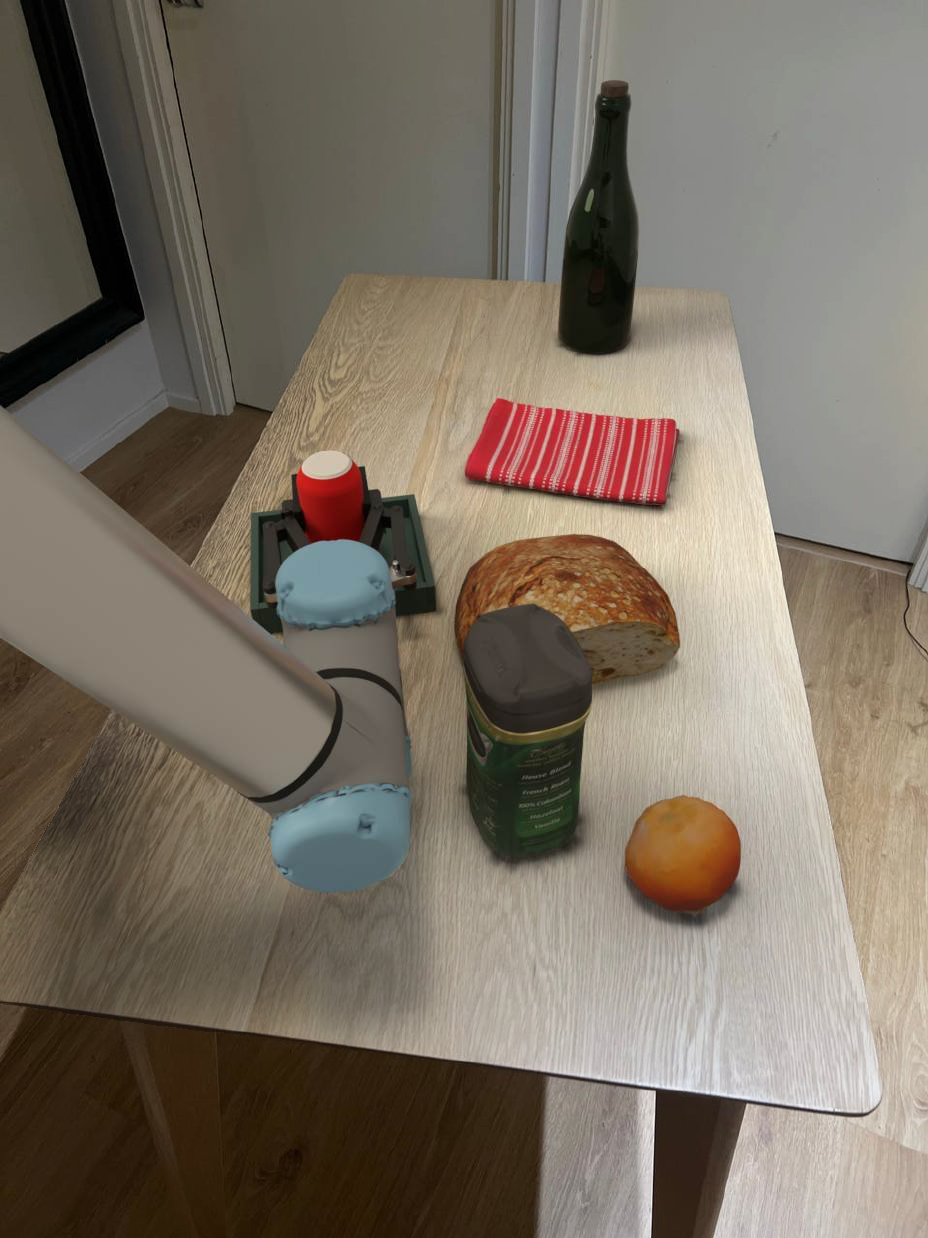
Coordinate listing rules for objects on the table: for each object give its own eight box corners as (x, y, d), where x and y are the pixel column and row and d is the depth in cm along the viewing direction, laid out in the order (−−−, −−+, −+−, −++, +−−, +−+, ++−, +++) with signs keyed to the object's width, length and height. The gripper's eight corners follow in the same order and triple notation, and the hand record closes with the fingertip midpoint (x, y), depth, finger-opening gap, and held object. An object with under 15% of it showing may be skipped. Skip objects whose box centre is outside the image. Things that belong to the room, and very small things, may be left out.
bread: (470, 717, 77) (468, 635, 71) (441, 583, 91) (437, 503, 84) (695, 687, 79) (714, 604, 73) (635, 560, 93) (646, 480, 86)
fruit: (721, 957, 60) (683, 865, 57) (631, 924, 66) (593, 840, 63) (780, 877, 64) (747, 788, 61) (690, 853, 70) (656, 772, 67)
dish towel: (495, 411, 115) (495, 392, 114) (679, 434, 110) (682, 415, 109) (459, 484, 103) (458, 464, 102) (664, 513, 98) (667, 493, 97)
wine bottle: (632, 356, 126) (663, 91, 103) (558, 355, 126) (572, 92, 104) (626, 323, 133) (654, 71, 111) (556, 323, 134) (570, 71, 111)
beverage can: (382, 552, 92) (371, 453, 84) (351, 588, 88) (337, 487, 80) (331, 537, 94) (316, 439, 86) (299, 571, 90) (280, 472, 82)
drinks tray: (256, 634, 86) (250, 609, 83) (256, 537, 97) (250, 512, 95) (436, 611, 88) (435, 585, 85) (416, 518, 99) (414, 493, 97)
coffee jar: (591, 845, 68) (614, 678, 55) (493, 874, 66) (494, 709, 53) (545, 750, 75) (556, 582, 62) (455, 774, 73) (448, 607, 60)
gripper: (240, 683, 75) (243, 522, 92) (459, 652, 77) (423, 500, 94) (221, 618, 70) (228, 460, 87) (457, 587, 72) (419, 439, 89)
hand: (329, 481), depth 91 cm, fingers closed on beverage can, 6 cm apart
